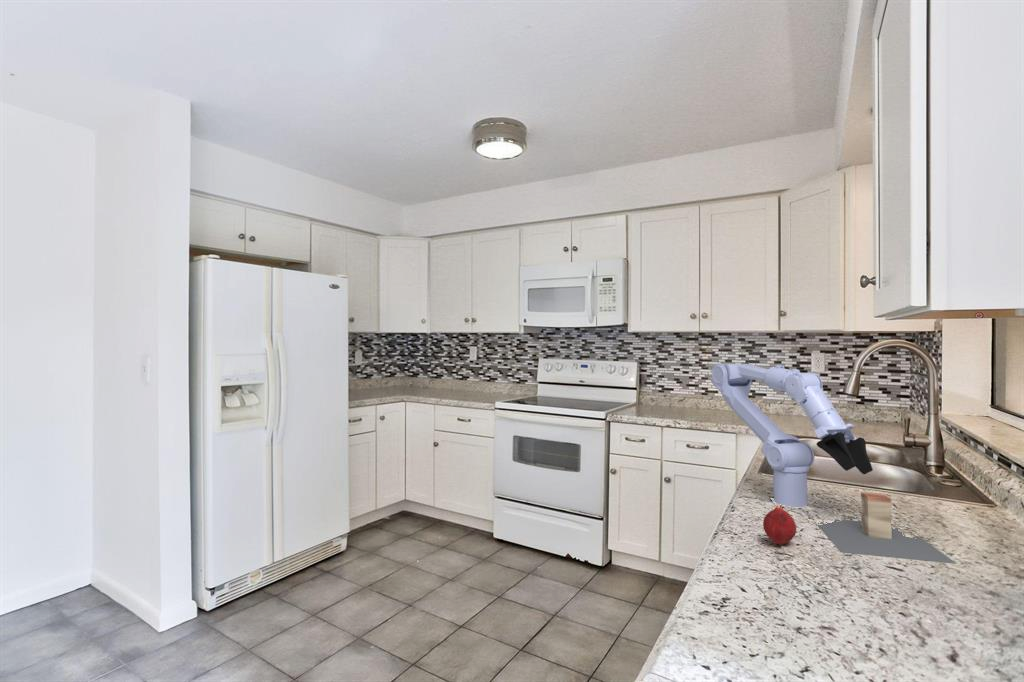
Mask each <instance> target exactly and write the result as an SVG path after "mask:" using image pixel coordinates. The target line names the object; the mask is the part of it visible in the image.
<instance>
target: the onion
mask: <svg viewBox="0 0 1024 682" xmlns="http://www.w3.org/2000/svg"><path fill="white" fill-rule="evenodd" d="M782 507H783V506H782V505H780V504H778V505H777V506H776V507H775V508H774V509H772V510H770V511H769V512H768V513H767V514H766V515H765V516H764V517H763V518H764V519H763V522H762V526H763V530H764V533H765V535H766V536H767V537H768V539H770V540H771V541H772V542H773V543H774V544H775V545H777V544H778V545H777V546H779V545H781V546H783V545H785V544H787V543H788V542H791V541H792V540H793V538H794V537H795V536H796V534H797V525H796V521H795V519H794V518H793V517H792V516H791V514H790V513H789V512H788V511H786V510H785V509H784V508H782Z"/></svg>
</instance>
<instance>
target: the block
mask: <svg viewBox="0 0 1024 682" xmlns="http://www.w3.org/2000/svg"><path fill="white" fill-rule="evenodd" d="M860 506H861V507H860V509H861V511H860V512H861V513H860V515H861V520H860V521H862V531H863V532H864V533H865V534H866V535H867V536H868V537H876V538H887V539H892V527H891V524H892V498H890V497H889V496H887V495H886V494H884V493H877V492H876V493H875V492H863V491H861V492H860Z"/></svg>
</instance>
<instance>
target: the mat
mask: <svg viewBox="0 0 1024 682" xmlns="http://www.w3.org/2000/svg"><path fill="white" fill-rule="evenodd" d="M838 519H839V518H837V520H835V521H834V522H832V523H827V522H826V523H827V524H823V523H820V524H823V525H817V527H818V528H819V529H820V530H821V531H822V533H823V534H824V535H825V536H826V537H827V538H828V539H829V541H830V542H831V543H832V544H833V546H835V547H836V548H837V549H838V551H839V553H842V554H853V555H861V556H871V557H872V556H873V557H882V558H893V559H902V560H904V559H905V560H913V561H924V562H934V563H944V564H955V565H957V562H955V561H954V560H953V559H952V558H950V557H949V556H947V555H946V554H944V553H943V552H942V551H941V550H939V549H937V547H935V546H934V545H932V544H931V543H930V542H928V541H926V540H925V539H924V538H922V537H921V536H920V537H913V538H909V537H905V535H904V536H903V535H902V532H900V531H898V528H895V529H893V528H892V539H887V538H876V537H868V536H867V535H866V534H865V533H864V532H863V531H862V520H852V519H841V520H842V521H840V522H837V521H838ZM818 524H819V523H818ZM914 536H915V535H914ZM915 538H916V539H915Z"/></svg>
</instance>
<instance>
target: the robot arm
mask: <svg viewBox="0 0 1024 682" xmlns="http://www.w3.org/2000/svg"><path fill="white" fill-rule="evenodd" d="M752 380H754V381H755V380H756V381H760V382H765V383H764V384H765V385H766V386H767V387H768V388H770V389H773V390H776V391H780V392H783V393H786V395H787V396H788V397H790V398H793V400H795V402H796V403H798V404H799V405H800V407H801V408H802V409H803V411H804V412H805V415H807V417H808V419H809V420H810V422H811V424H812V425H813V427H814V430H813V431H814V433H815V435H816V437H817V438H818V439H820V440H819V441H817V442H816V446H817V447H818V448H819V449H821V450H823V451H824V452H825V453H826V454H828V455H829V456H830V457H831V458H832V459H833V460H835V462H836V463H838V465H839V466H840V467H841V468H842V469H843V470H845V472H846V471H850V470H851V469H853V468H855V467H856V469H857V470H858V471H859V472H860V473H861V474H862V475H866V474H869V473H870V472H872V471H874V470H873V466H872V464H871V461H870V459H869V455H868V452H867V446H866V445H867V444H866V443H867V441H866V439H864V438H863V437H861V436H860V437H858V438H857V437H856V435H855V434H853V432H852V430H853V429H854V428H855V426H854V424H852V423H847V424H846V423H845V422H844V420H843V419H842V417H841V416H840V414H839V413H838V411H837V410H836V408H835V407H834V405H833V404H832V403H831V401H830V399H829V398H828V397H827V395H826V394H825V392H824V391H823V380H822V378H821V377H820V375H818V374H816V373H814V372H813V371H809V372H800V370H799V369H797V368H795V369H794V368H792V369H789V368H785V366H784V365H779V364H778V365H777V364H776V366H771V367H770V368H764V367H762V366H758V365H756V364H755V365H754V364H752V363H716V364H715V365H713V366H712V369H711V383H712V385H713V386H714V387H715V388H716V389H717V390H718V391H719V392H720V393H721V395H722V397H723V400H724V401H725V403H726V404H727V406H728V407H729V408H730V409H731V410H732V411H733V413H734V414H735V415H736V416H737V417H738V418H739V419H740V420H741V421H742V422H743V423H744V424H745V425H746V426H747V427H748V428H749V429H750V430H751V432H753V433H754V434H755V436H756V437H757V438H758V439H759V440H760V441H761V442H762V443H763V444H762V447H761V453H762V454H763V455H764V456H765V458H766V460H767V463H768V464H769V466H770V467H771V469H772V470H773V476H772V485H773V487H772V490H773V496H774V500H775V502H776V503H778V504H781V505H785V506H791V507H804V506H807V504H808V472H809V471H810V467H811V466H812V465H813V464H814V462H815V452H814V449H813V448H812V447H811V445H810V444H809V443H808V442H804V441H802V440H800V439H799V438H798V437H797V436H794V435H791V434H789V433H787V432H784V431H783V430H782V429H781V428H780V427H778V426H777V424H775V422H774V421H772V420H771V418H769V417H768V416H767V414H765V412H763V411H762V409H760V407H758V406H757V405H756V404H755V403H754V402H753V401H752V400H751V399H750V398H749V397H748V396H749V395H750V394H751V385H752ZM773 496H772V497H773Z"/></svg>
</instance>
